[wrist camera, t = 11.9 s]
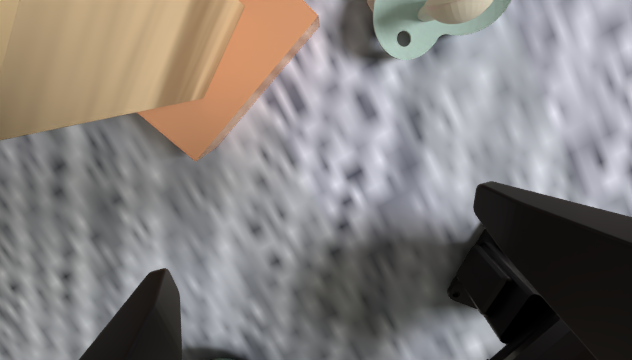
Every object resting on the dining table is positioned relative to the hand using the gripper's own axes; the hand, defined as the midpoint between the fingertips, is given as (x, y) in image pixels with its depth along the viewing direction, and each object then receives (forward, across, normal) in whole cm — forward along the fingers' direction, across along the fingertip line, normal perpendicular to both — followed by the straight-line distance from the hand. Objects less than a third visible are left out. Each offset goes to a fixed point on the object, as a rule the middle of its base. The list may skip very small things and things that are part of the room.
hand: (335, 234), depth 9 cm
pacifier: (+13, -10, -4) cm, 17 cm away
